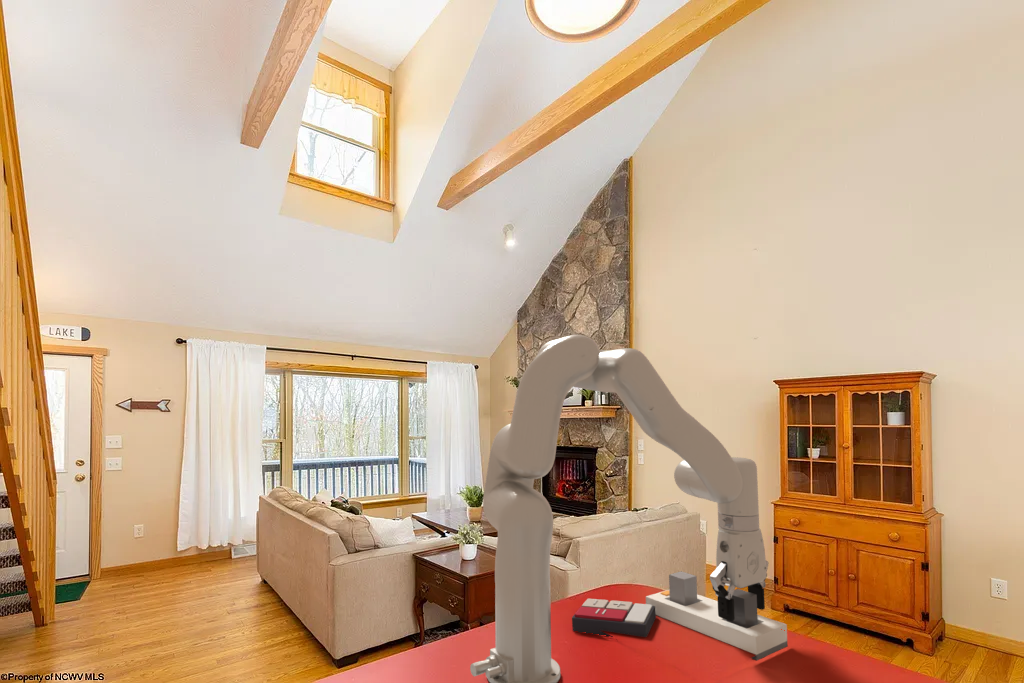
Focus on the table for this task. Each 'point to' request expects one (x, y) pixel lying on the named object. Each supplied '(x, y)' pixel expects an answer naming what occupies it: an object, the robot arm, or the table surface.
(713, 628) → the power strip
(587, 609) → the calculator
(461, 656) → the table surface
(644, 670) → the table surface
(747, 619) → the plug
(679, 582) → the grey square peg
